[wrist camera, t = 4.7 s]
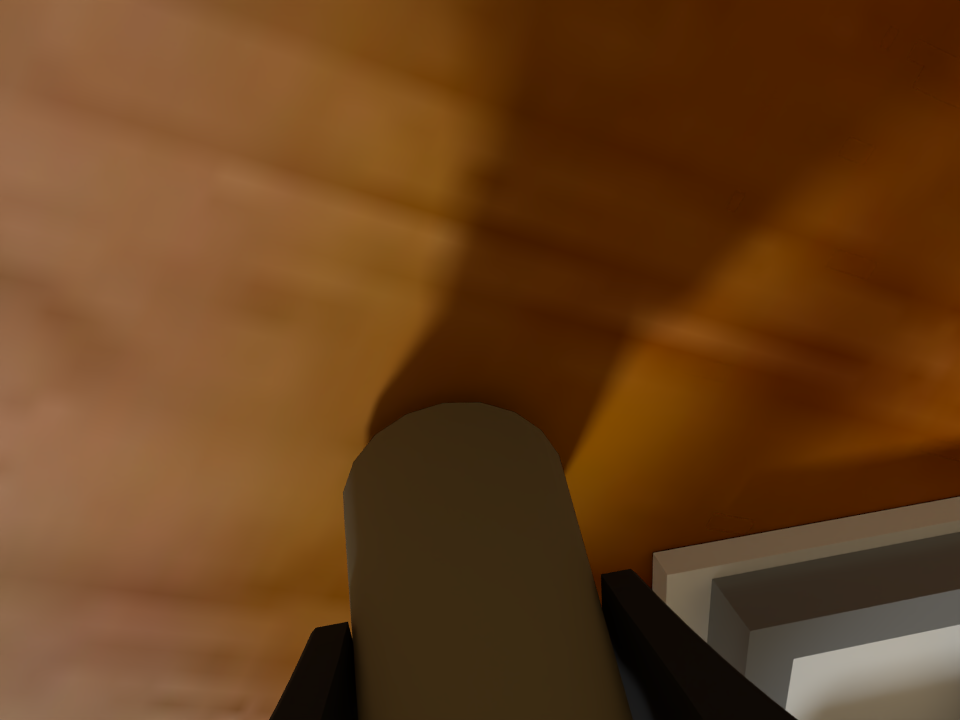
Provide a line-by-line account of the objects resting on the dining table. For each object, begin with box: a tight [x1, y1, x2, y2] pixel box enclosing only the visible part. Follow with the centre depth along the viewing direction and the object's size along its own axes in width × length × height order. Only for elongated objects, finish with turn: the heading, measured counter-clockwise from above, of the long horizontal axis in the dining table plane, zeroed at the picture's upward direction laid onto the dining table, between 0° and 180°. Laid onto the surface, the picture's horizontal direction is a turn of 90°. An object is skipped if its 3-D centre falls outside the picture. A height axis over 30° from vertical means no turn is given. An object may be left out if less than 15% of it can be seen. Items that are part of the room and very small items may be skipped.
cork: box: [343, 402, 633, 720], centre depth 9 cm, size 6×6×11 cm
